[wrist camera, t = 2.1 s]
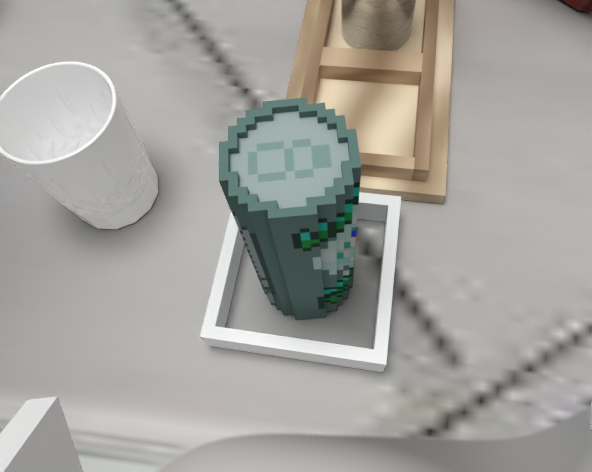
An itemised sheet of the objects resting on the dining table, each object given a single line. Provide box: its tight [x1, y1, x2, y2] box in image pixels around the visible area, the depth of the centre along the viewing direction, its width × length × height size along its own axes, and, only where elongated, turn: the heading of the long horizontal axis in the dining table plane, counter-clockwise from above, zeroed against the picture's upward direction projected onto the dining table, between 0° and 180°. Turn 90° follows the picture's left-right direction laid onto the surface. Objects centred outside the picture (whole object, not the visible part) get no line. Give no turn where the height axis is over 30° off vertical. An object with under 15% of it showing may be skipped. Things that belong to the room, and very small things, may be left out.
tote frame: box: [200, 192, 401, 372], centre depth 34 cm, size 12×12×2 cm
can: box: [219, 97, 361, 320], centre depth 28 cm, size 6×6×15 cm
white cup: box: [0, 62, 158, 229], centre depth 35 cm, size 8×8×10 cm
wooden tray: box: [286, 0, 455, 204], centre depth 41 cm, size 13×22×3 cm, turn 171°
